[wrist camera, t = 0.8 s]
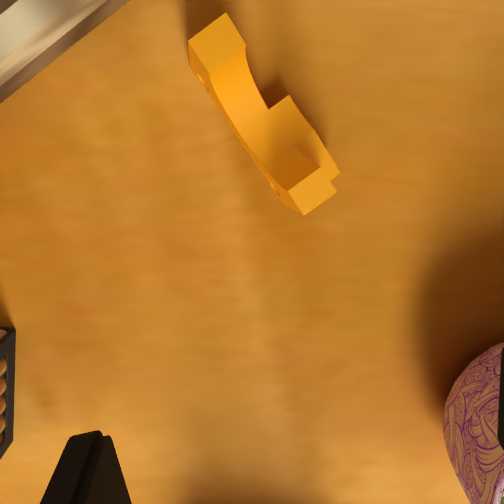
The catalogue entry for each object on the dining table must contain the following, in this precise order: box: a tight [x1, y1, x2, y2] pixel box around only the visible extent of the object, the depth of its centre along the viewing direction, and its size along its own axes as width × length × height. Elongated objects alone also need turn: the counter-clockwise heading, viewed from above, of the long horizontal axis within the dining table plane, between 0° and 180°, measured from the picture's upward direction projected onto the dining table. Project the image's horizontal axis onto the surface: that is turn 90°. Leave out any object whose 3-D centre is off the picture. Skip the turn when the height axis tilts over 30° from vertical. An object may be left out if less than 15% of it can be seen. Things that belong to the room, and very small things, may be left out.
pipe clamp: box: [188, 12, 340, 216], centre depth 25 cm, size 12×4×6 cm, turn 35°
